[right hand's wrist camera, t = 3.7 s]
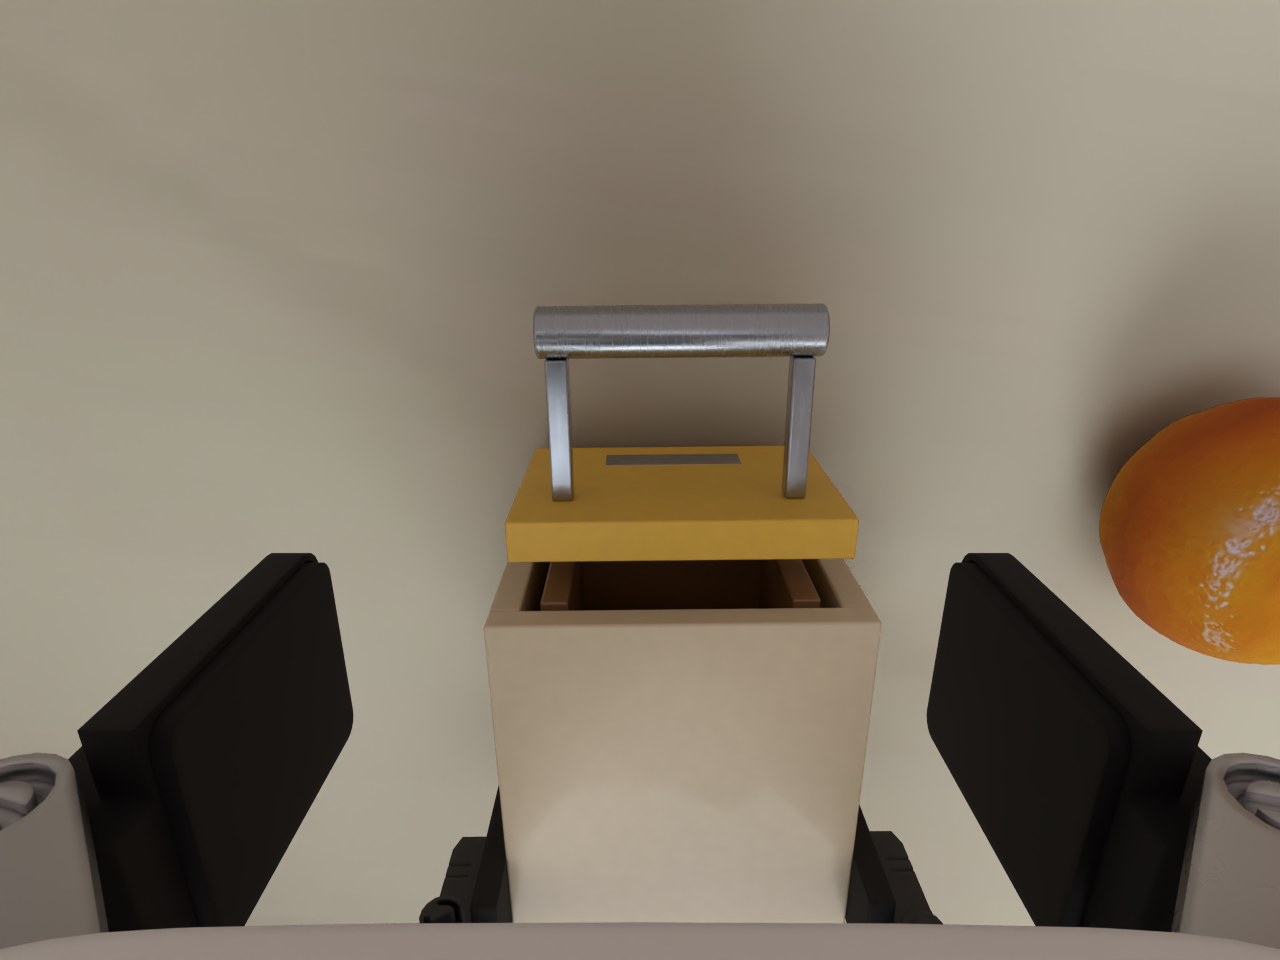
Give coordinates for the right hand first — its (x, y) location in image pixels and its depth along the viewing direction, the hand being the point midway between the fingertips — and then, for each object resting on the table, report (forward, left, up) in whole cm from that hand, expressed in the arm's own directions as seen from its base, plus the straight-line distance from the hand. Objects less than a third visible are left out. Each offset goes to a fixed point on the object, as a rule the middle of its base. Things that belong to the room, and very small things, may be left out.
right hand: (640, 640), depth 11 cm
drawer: (+5, +1, -15) cm, 16 cm away
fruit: (+3, +20, -16) cm, 26 cm away
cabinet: (+11, +1, -16) cm, 19 cm away
